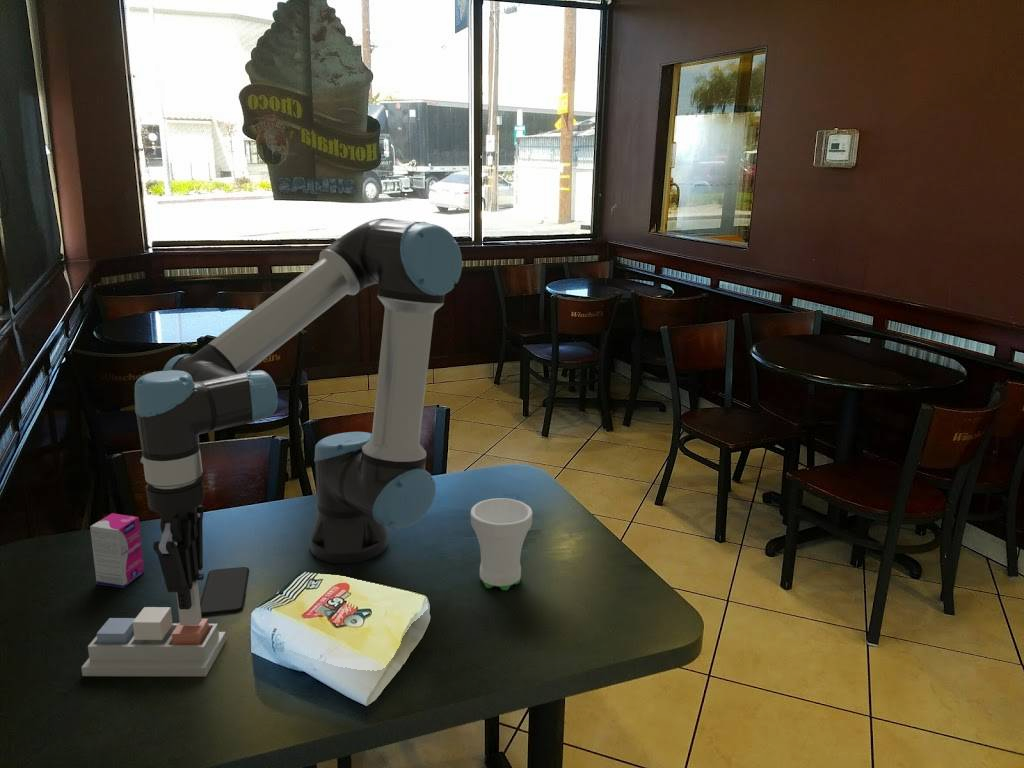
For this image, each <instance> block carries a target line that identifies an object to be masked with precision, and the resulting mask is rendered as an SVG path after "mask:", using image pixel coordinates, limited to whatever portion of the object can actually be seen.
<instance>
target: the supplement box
mask: <svg viewBox="0 0 1024 768" xmlns="http://www.w3.org/2000/svg"><path fill="white" fill-rule="evenodd" d="M89 528H90V535H91V536H90V539H91V546H92V554H93V556H92V557H93V562H94V571H95V581H96V584H97V585H100V586H101V585H102V586H110V587H116V588H121V589H124V588H126V586H128V584H130V583H132V581H134V580H135V579H137V578H138V577H139V576H141V575H143V574H144V572H145V568H144V558H143V557H144V556H143V549H142V548H143V547H142V538H141V536H142V535H141V526H140V518H139V517H138V516H134V515H128V514H127V515H126V514H119V513H113V512H112V513H110V514H108V515H107V516H105V517H103V518H102V519H100V520H99V521H97V522H95V523H93V524H92V525H90V527H89Z"/></svg>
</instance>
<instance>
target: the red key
mask: <svg viewBox="0 0 1024 768" xmlns="http://www.w3.org/2000/svg"><path fill="white" fill-rule="evenodd" d="M178 623H179V624H178V625H177V627H176V628H175V629H174V631H173V632H172V643H173V645H202V644H203V642H204V640H205V639H206V637H207V635H208V634H209V624H210V623H209V618H202V620H201V622H200V623H199V625H180V621H179V622H178Z"/></svg>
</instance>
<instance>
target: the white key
mask: <svg viewBox="0 0 1024 768" xmlns="http://www.w3.org/2000/svg"><path fill="white" fill-rule="evenodd" d="M172 625H173V614H172V607H167V606H165V607H164V606H160V607H159V606H144V607H143V608H142V609H141V611H140V612H139V613H138V615H137V616H136V617H135V620H134V621H133V629H134V637H135V640H162V639H163V638H164V636H165V635H166V633H167V632H168V630H169V629H170V628H171V626H172Z"/></svg>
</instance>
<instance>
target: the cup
mask: <svg viewBox="0 0 1024 768" xmlns="http://www.w3.org/2000/svg"><path fill="white" fill-rule="evenodd" d="M532 523H533V509H532V508H531V507H530V506H529V505H528V504H526V503H525V502H523V501H520V500H517V499H513V498H504V497H503V498H502V497H501V498H499V497H497V498H496V497H495V498H490V499H485V500H481V501H479V502H477V503H476V504H474V505H473V506H472V507H471V510H470V524H471V525H470V526H471V527H472V529H473V530H474V532H475V534H476V538H477V540H478V544H479V550H480V564H479V565H480V566H479V579H480V580H481V581H482V583H483V585H484V588H487V589H491V588H494V587H498V588H500V589H501V590H502V591H504V590H505V591H508V590H509V589H510V587H512V586H513V585H518V584H520V581H521V578H522V577H521V576H522V566H521V554H522V549H523V545H524V541H525V538H526V536H527V535H528V533H529V531H530V529H531V528H532Z"/></svg>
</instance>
